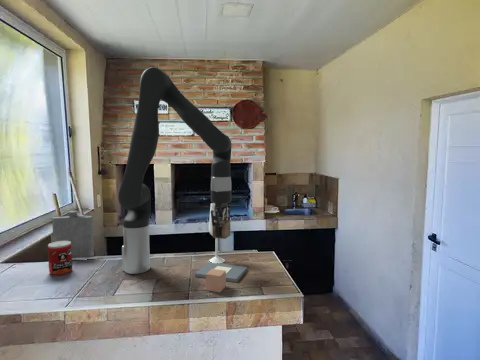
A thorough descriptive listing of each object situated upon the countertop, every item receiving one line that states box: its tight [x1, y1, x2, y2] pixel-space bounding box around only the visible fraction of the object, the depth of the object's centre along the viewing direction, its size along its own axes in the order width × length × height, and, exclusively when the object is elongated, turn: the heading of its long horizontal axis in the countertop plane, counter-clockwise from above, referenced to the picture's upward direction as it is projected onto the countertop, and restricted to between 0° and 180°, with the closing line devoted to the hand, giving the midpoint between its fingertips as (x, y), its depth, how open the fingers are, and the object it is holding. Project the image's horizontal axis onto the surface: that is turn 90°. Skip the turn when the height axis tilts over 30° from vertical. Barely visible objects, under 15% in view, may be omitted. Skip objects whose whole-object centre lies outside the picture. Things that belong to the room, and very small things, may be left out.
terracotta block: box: [205, 269, 227, 293], centre depth 105 cm, size 5×5×6 cm
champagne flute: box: [208, 202, 226, 264], centre depth 130 cm, size 7×7×24 cm
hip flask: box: [51, 210, 95, 259], centre depth 135 cm, size 16×4×20 cm, turn 98°
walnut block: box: [212, 220, 231, 240], centre depth 116 cm, size 5×5×6 cm
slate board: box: [194, 262, 248, 283], centre depth 118 cm, size 16×12×1 cm
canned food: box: [47, 241, 73, 277], centre depth 119 cm, size 8×8×11 cm
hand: (221, 234), depth 116 cm, fingers closed on walnut block, 5 cm apart
